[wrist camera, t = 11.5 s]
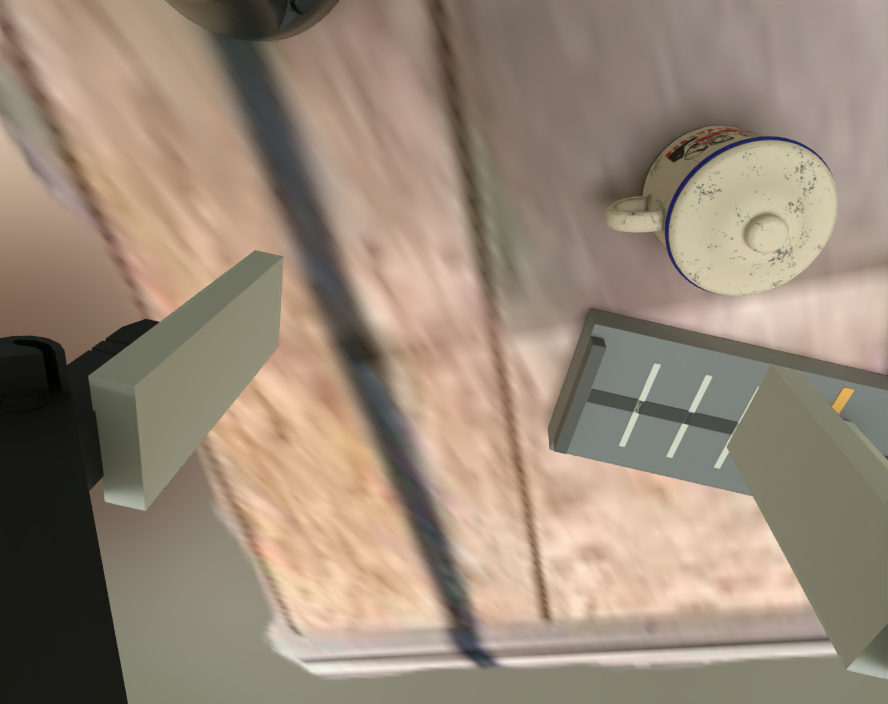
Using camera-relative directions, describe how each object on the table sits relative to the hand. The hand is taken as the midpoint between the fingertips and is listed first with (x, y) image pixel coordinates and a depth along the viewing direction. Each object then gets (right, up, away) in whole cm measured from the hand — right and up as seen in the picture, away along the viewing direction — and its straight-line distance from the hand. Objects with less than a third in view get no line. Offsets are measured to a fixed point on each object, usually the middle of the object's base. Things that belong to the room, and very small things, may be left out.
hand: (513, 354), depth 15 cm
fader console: (+22, -5, +32) cm, 39 cm away
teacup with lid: (+15, +11, +25) cm, 31 cm away
